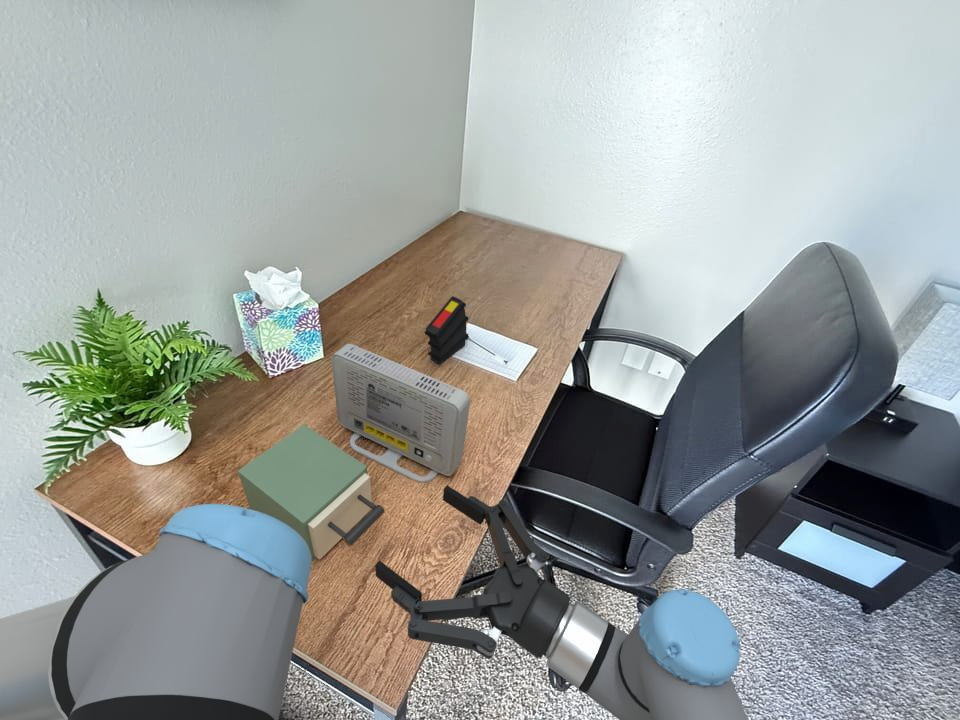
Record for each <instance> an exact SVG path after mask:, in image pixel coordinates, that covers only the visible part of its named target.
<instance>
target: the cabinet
mask: <svg viewBox="0 0 960 720" xmlns="http://www.w3.org/2000/svg"><path fill="white" fill-rule="evenodd" d="M364 473H366V474H367V475H369V474H368V466H366V465H365V464H364V463H362V462H361V461H359V460H358V459H356V458H355V457H353V456H352V455H350V454H349V453H347V452H346V451H345V450H343V449H342V448H340V447H338V445H336V444H335V443H333V442H332V441H330V440H329V439H327V438H325V437H324V436H323V435H321V434H320V433H319V432H317V431H315V430H313V429H312V428H311V427H309V426H308V425H307V424H304V423H303V424H302V425H301V426H299V427H298V428H297V429H295V430H294V431H292V432H291V433H289V434H288V435H287V436H284V438H282V439H281V440H279V441H278V442H277V443H275V444H273V445H272V446H271V447H270V448H268V449H266V450H265V451H264V452H262V453H261V454H260V455H258V456H256V457H255V458H254V459H253V460H251V461H250V462H248V463H247V464H245V465H244V466H243V467H241V468H240V469H238V470H237V474H238V477H239V479H240V483H241V486H242V489H243V491H244V492H243V493H244V495H245V497H246V501H247V503H248V506H249V509H250V510H254V511H258V512H261V513H264V514H267V515H269V516H272V517H274V518H276V519H278V520H280V521H282V522H283V523H285V524H287V525H288V526H290V527H291V528H292V529H294V530H295V531H296V532H297V533H298V534H299V535H300V536H301V537H302V538H303V539H304V540H305V542H306V543H307V545H308V547H309V549H310V552H311V559H312V562H313V561H314V560H315V559H317V557H315V556H314V551H313V547H312V542H311V537H310V533H309V528H308V522H309V521H310V520H312V519H313V518H314V517H315V516H316V515H317V514H318V513H319V512H321V511H322V510H323V509H324V508H325V507H326V506H327V505H328V504H330V503H331V502H332V501H333V500H334V499H335V498H336V497H337V496H339V495H340V494H341V493H342V492H343V491H344V490H345V489H346V488H347V487H349V486H350V485H351V484H352V483H353V482H354V481H355V480H357V479H358V478H360V477H361V476H362V475H363V474H364Z"/></svg>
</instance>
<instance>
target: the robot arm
mask: <svg viewBox="0 0 960 720" xmlns="http://www.w3.org/2000/svg"><path fill="white" fill-rule="evenodd" d="M442 501H443V502H445V503H446V504H448V505H449V506H451V507H452V508H453V509H455V510H457V511H459V512H460V513H461V514H463V515H464V516H466V517H468V518H469V519H471V520H472V521H473V522H475V523H476V524H478V525H480V526H481V525H482V524H483V523H484V524H485V525H486V527H487V529H488V532H489V535H490V538H491V541H492V545H493V547H494V550H495V553H496V556H497V559H498V562H499V567H496V569H495V571H494V573H493V576H492V579H490V580H489V581H488V582H486V584H485V586H484V587H483V592H482V594H475V595H474V596H471V597H458V598H457V597H456V598H443V599H431V600H430V599H429V600H422V599H423V592H421V590H419V589H418V588H416V587H415V586H414V585H413V584H411V583H410V582H409V581H407V580H406V579H405V578H403V577H402V576H401V575H399V574H398V573H397V572H396V571H394V570H393V569H391V568H390V567H389V566H388V565H386V564H385V563H384V562H382V561H381V560H378V561H377V562H376V563H375V564H374V570H375V577H376V578H377V579H378V580H380V581H381V582H382V583H383V584H385V585H386V586H387V587H389V588H390V589H391V593H390V594H391V599H392V602H394V603H395V604H396V605H398V606H399V607H400V608H402V609H403V610H404V611H405V612H406V613H408V614H409V616H410V618H409V620H408V622H407V636H408V638H409V639H411V640H414V641H420V642H426V643H432V644H438V645H444V646H449V647H454V648H461V649H466V650H471V651H474V652H475V653H477V654H479V655H481V656H482V657H483V658H485V659H491V658H493V657H494V655H495V652H496V649H497V645H498V642H499V639H500V637H501V636H502V635H503V636H506V637H509V638H510V639H511V640H512V641H513V642H514V643H516V644H517V645H518V646H520V647H521V648H522V649H523V650H525V651H526V652H528V653H529V654H530V655H532V656H533V657H534V658H536V659H542V658H543V657H545V658H546V659H547V660H546V662H545V663H546V666H547V667H548V668H550V669H551V670H552V671H554V672H555V673H556V674H557V675H559V676H560V677H561V678H563V679H564V680H566V681H567V682H568V683H570V684H571V685H572V686H574V687H575V688H576V689H578V690H579V691H580V692H581V693H583V694H584V695H586V696H588V698H590V699H591V700H592V701H594V702H596V703H597V705H599V706H601V707H602V708H603V709H605V711H606V712H608V713H609V714H611V715H612V716H614V717H615V718H616V719H618V720H749V719H748V715H747V713H746V711H745V708H744V707H743V704H742V702H741V701H742V700H741V699H740V697H739V694H738V691H737V689H736V687H735V685H734V682H733V680H732V676H733V675H734V674H735V671H736V670H737V668H738V666H739V664H740V660H741V659H740V656H741V649H740V648H741V645H740V638H739V635H738V633H737V630H736V628H735V626H734V624H733V622H732V621H731V619H730V618H729V617H728V615H727V614H726V613H725V612H724V610H723V609H722V608H721V607H720V606H719V605H717V604H716V603H715V602H714V601H712V599H710V598H709V597H707V596H705V595H703V594H702V593H699V592H697V591H693V590H688V589H681V588H678V589H671V590H668V591H666V592H664V593H662V594H661V595H659V597H658V598H657V599H656V600H655V601H654V602H653V603H652V604H651V605H650V606H647V607H646V608H645V609H644V610H643V611H642V613H641V614H640V616H639V618H638V620H637V621H636V623H635V624H634V626H633V627H632V629H631V630H630V631H629V632H628V633H626V632H625V631H623V630H621V629H620V628H619V627H617V626H616V625H614V624H613V623H611V622H609V621H608V620H607V619H606V618H604V617H602V616H601V615H599V614H597V613H596V612H595V611H594V610H592V609H590V607H587V606H586V605H585V604H583V603H582V602H580V601H576V602H575V603H572V602H571V599H572V598H571V597H570V594H568V593H567V592H565V591H563V589H561V588H559V587H557V586H556V585H555V584H553V583H551V582H550V581H548V580H545V579H543V578H541V576H539V574H538V573H539V571H540V570H543V569H544V568H545V566H546V563H547V561H548V559H549V554H548V552H547V551H546V550H544V549H543V548H542V547H541V546H539V545H538V544H537V543H536V542H535V541H534V540H533V538H532V537H531V535H530V534H529V532H528V531H527V529H526V528H525V527H524V525H523V524H522V522H521V520H520V519H519V518H518V517H517V515H516V513H515V512H514V510H513V509H512V508H511V506H510V505H509V503H508V502H507V501H506V500H505V499H501V500H499V501H498V503H496V504H494V505H493V506H492V505H491V506H490V505H488V504H486V503H485V502H483V501H482V500H480V499H478V498H477V497H476V496H472V495H470V496H469V497H466V496H465V495H463V494H462V493H460V492H459V491H457V490H455V489H454V488H452V487H451V486H449V485H447V484H446V486H445V487H443V493H442ZM504 528H505V530H506V532H507V533H508V535H509V536H510V538H511V539H512V540H513V542H514V543H515V545H516V546H517V548H518V550H519V551H520V553H521V555H522V556H523V557H524V558H525V560H526V564H527V565H525V566H524V565H518V562H517V560H516V557H515V554H514V552H513V551H512V550H511V547H510V544H509V541H508V539H507V536H506V533H505V530H504ZM158 536H159V538H158V540H157V542H156V545H155V546H154V548H153V549H152V550H151V551H150V552H147V553H145V554H141V555H139V556H135V557H132V558H128V559H124V560H123V561H119V562H117V563H116V564H112V565H110V566H108V567H107V568H105V569H103V570H102V571H100V572H99V573H97V574H96V575H95V576H94V577H92V578H91V579H90V580H88V582H86V584H84V585H83V587H82V588H80V589H79V591H78V592H77V593H76V594H75V595H74V596H71V597H68V598H64V599H61V600H57V601H53V602H49V603H47V604H44V605H41V606H37V607H34V608H30V609H27V610H23V611H21V612H16V613H14V614H10V615H7V616H4V617H1V618H0V720H279V719H280V714H281V708H282V704H283V700H284V696H285V695H284V694H285V690H286V685H287V680H288V676H289V671H290V665H291V661H292V657H293V651H294V648H295V643H296V637H297V633H298V630H299V629H298V628H299V625H300V624H299V623H300V620H301V619H300V618H301V614H302V609H303V605H304V604H306V603H307V602H308V600H309V596H310V595H309V592H308V586H309V581H310V575H311V569H312V563H313V561H312V559H311V552H310V549H309V547H308V545H307V543H306V542H305V540H304V539H303V538H302V537H301V536H300V535H299V534H298V533H297V532H296V531H295V530H294V529H292V528H291V527H290V526H288V525H287V524H285V523H283V522H282V521H280V520H278V519H276V518H274V517H272V516H269V515H267V514H264V513H261V512H258V511H254V510H250V508H246V507H244V506H238V505H234V504H233V505H232V504H226V503H203V504H196V505H195V504H194V505H191V506H188V507H185V508H182V509H180V510H179V511H177V512H176V513H175V514H173V516H171V518H170V519H169V520H168V522H167V524H166V525H165V526H164V527H161V528H160V530H159V534H158ZM465 618H472V619H474V620H475V619H486V618H487V619H488V621H489V623H490V627H491V629H487V628H484V629H482V630H478V629H475V628H470V627H465V626H460V625H456V624H455V625H454V624H448V623H442V622H437V621H443V620H454V619H465Z"/></svg>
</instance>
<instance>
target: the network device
mask: <svg viewBox="0 0 960 720" xmlns="http://www.w3.org/2000/svg"><path fill="white" fill-rule="evenodd" d="M330 360H331V369H332V376H333V377H332V378H333V379H332V380H333V386H334V387H333V389H334V396H335V404H336V405H335V406H336V414H337V415H336V416H337V420H338V422H339V424H340V425H341V426H342V427H344V428H346V429H347V430H350V431H352V432H353V434H352V435H351V436H350V440H349V445H350V448H351V450H352V451H353V452H354V453H357V454H359V455H361V456H363V457H365V458H367V459H369V460H371V461H373V462H375V463H377V464H379V465H381V466H383V467H385V468H387V469H389V470H391V471H393V472H395V473H397V474H400V475H402V476H403V477H406V478H408V479H410V481H413V482H416V483H421V484H424V483H429V482H431V481H433V480H434V479H436V477H437V475H438V474H441V475H444V476H447V477H450V476H452V475H453V474H454V472H455V471H456V469H457V468H458V466H459V465H460V464H461V462H462V461H463V456H464V448H465V442H466V436H467V428H468V420H469V413H470V407H471V406H470V404H471V396H470V395H469V394H468V393H467V392H466V391H464V390H463V389H461V388H458V387H456V386H454V385H451V384H448V383H446V382H444V381H441V380H439V379H437V378H434V377H432V376H429V375H427V374H425V373H423V372H420V371H418V370H415V369H412V368H410V367H407V366H405V365H403V364H401V363H398V362H396V361H393V360H392V359H391V360H390V359H388V358H386V357H383V356H381V355H379V354H376V353H374V352H372V351H369V350H367V349H364V348H362V347H359V346H357V345H355V344H352V343H346V344H345V345H344V346H343V347H341V348H339V349H338V350H337V351H336V352H334V354H332V355H331V357H330ZM361 437H364V438H367V439H369V440H370V441H373V442H375V443H377V444H379V445H381V446H383V447H384V448H387V450H386V451H385V453H383V454H381V455H378V454H375V453H373V452H371V451H370V450H369V451H368V450H366V449H364V448H363V447H360V446H358V445H357V444H356V442H358V440H359V439H360V438H361ZM403 456H404V457H406V458H408V459H410V460H412V461H415V462H417V463H418V464H421V465H423V466H425V467H427V468H429V469H431V470H430V471H429V473H428V474H427V475H425V476H420V475H418V474H416V473H414V472H412V471H410V470H408V469H406V468H404V467H401V466H399V464H398V462H399V461H400V460H401V459H402V457H403Z"/></svg>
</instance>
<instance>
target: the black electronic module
mask: <svg viewBox="0 0 960 720" xmlns="http://www.w3.org/2000/svg"><path fill="white" fill-rule="evenodd" d="M466 306H467V304H466V302H464V301H463V300H462V299H460V298H458V297H457V296H454V295H451V297H450V298H449V299H448V300H447V302H446V303H444V305H443V306H442V308H441V309H440V310H439V312H437V314H436V315H435V316H434V318H433V319H432V320H431V321H430V322H429V324H427V326H426V327H425V331H424V335H425V336H428V338H429V340H428V342H427V345H429V346H430V350H429V351H428V353H427V354H428V356H430V360H431V361H433V362H434V363H436V364H438V365H441V364H442V363H444V362H445V361H446V360H448V359H449V358H451V357H452V356H453V355H454V354H456V353H458V351H459V350H461V349H462V348H464V347H465V346H466V342H467V340H468V338H469V333H467V328H468V327H467V322H468V321H469V316H467V315H466V314H467V313H466Z"/></svg>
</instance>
